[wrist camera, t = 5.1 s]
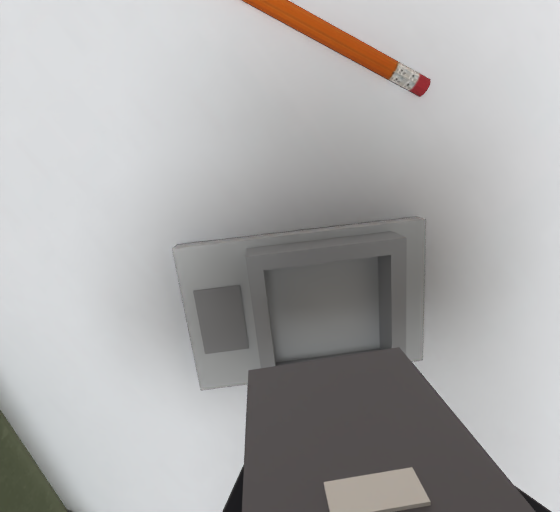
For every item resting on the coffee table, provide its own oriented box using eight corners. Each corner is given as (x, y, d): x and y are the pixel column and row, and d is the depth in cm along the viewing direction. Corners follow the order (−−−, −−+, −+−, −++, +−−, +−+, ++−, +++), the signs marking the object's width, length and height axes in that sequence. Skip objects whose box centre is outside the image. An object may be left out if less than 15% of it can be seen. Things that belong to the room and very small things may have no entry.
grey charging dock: (414, 351, 20) (438, 378, 18) (203, 379, 20) (195, 412, 17) (416, 216, 18) (444, 224, 15) (176, 244, 17) (162, 257, 15)
